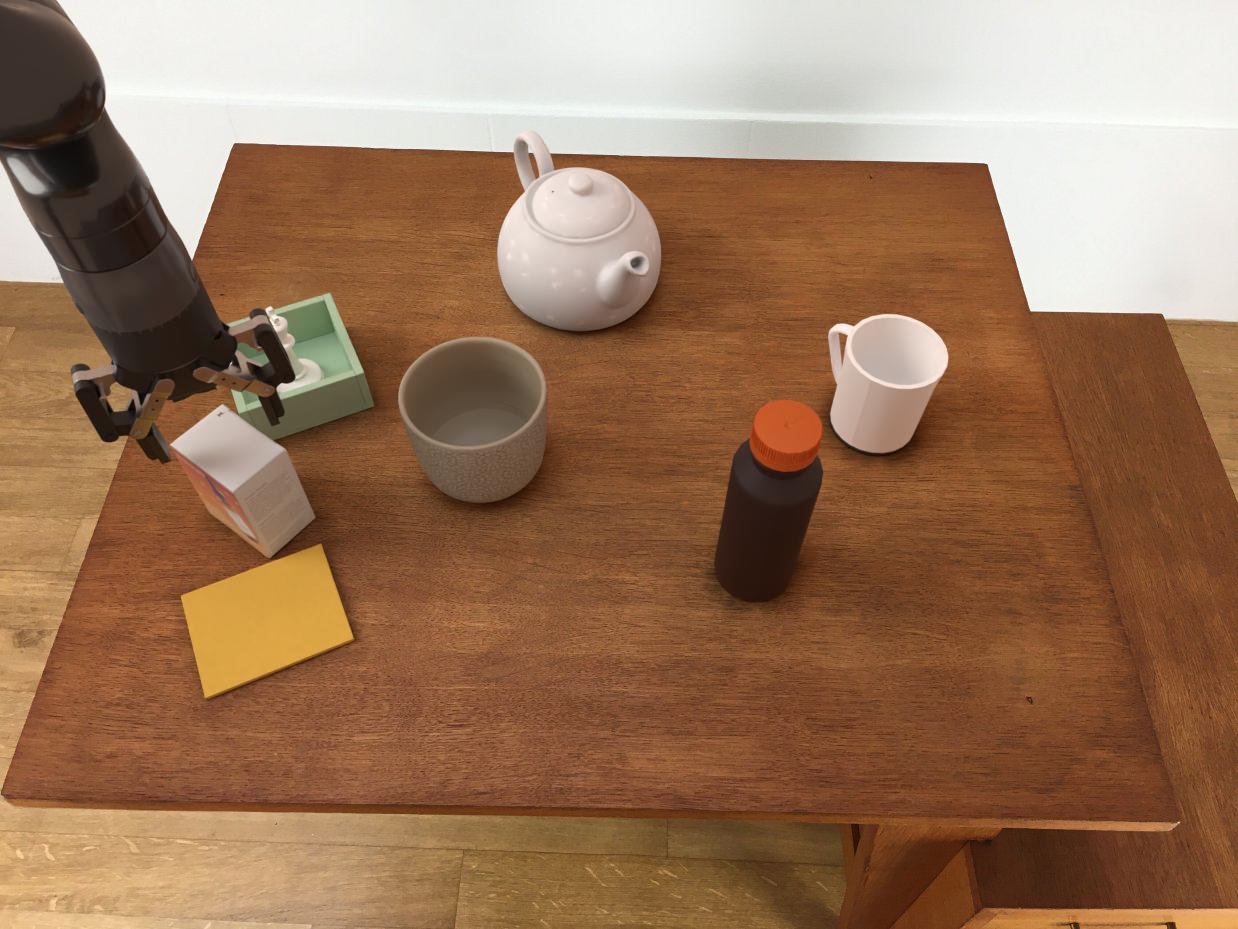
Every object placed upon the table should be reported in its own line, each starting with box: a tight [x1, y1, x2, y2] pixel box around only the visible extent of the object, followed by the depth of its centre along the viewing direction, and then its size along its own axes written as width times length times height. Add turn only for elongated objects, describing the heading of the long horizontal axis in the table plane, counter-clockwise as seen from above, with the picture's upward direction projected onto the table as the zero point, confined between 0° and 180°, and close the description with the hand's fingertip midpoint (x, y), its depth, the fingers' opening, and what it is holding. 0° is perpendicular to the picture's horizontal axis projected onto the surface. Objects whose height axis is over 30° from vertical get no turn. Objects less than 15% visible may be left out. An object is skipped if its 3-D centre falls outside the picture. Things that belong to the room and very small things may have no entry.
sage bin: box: [226, 292, 375, 441], centre depth 93 cm, size 12×12×5 cm
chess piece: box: [264, 306, 324, 394], centre depth 91 cm, size 5×5×10 cm
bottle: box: [713, 399, 824, 602], centre depth 75 cm, size 7×7×20 cm
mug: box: [827, 313, 949, 456], centre depth 89 cm, size 11×9×10 cm
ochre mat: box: [180, 543, 355, 701], centre depth 80 cm, size 12×10×1 cm
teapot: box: [496, 130, 662, 332], centre depth 99 cm, size 19×18×14 cm
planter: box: [397, 336, 549, 504], centre depth 85 cm, size 12×12×11 cm
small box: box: [169, 403, 316, 559], centre depth 82 cm, size 8×6×10 cm
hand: (219, 436), depth 76 cm, fingers open, 8 cm apart
